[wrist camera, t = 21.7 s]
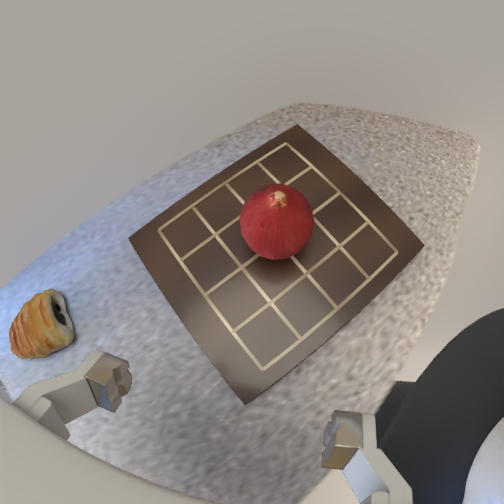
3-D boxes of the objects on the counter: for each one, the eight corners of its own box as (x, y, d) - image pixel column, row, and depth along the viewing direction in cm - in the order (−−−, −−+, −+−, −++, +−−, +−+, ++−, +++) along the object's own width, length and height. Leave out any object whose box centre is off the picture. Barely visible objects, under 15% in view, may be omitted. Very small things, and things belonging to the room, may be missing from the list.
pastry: (27, 373, 26) (5, 371, 22) (13, 321, 28) (-8, 314, 24) (81, 341, 27) (59, 336, 23) (63, 285, 29) (42, 275, 26)
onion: (233, 228, 28) (219, 179, 21) (288, 201, 29) (292, 147, 21) (262, 282, 26) (259, 248, 19) (320, 252, 27) (337, 209, 20)
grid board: (418, 250, 28) (425, 244, 27) (246, 402, 24) (244, 405, 23) (296, 132, 34) (297, 123, 32) (133, 243, 30) (127, 237, 29)
